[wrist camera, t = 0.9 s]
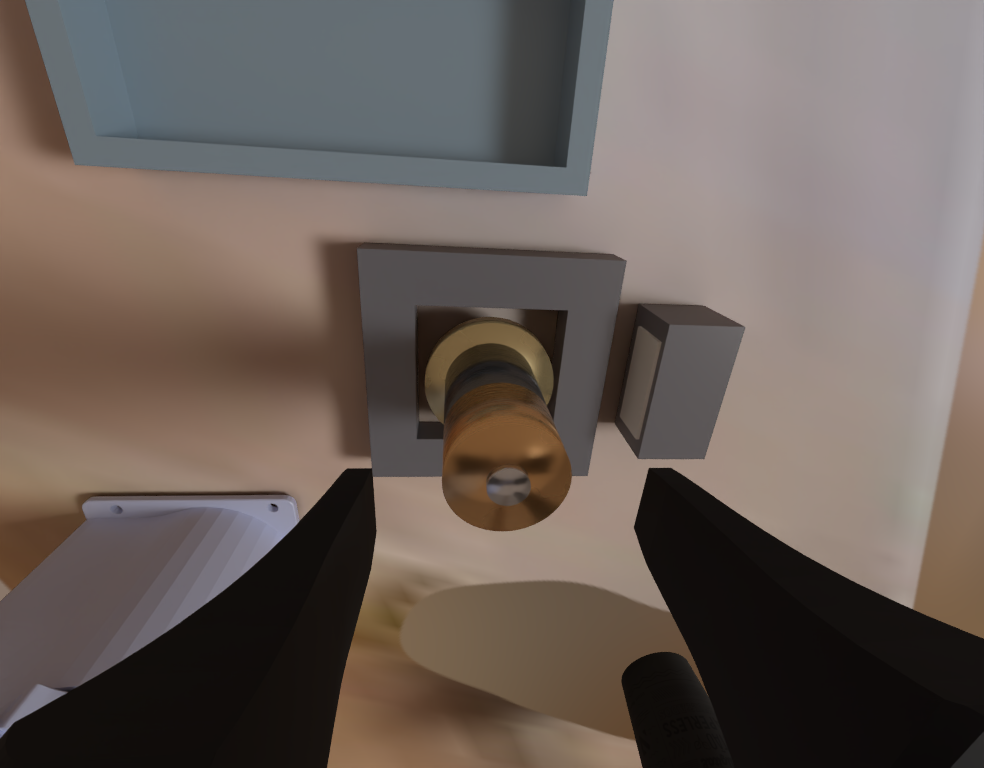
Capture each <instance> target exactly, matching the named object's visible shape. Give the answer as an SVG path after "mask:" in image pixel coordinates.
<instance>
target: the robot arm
mask: <svg viewBox="0 0 984 768" xmlns="http://www.w3.org/2000/svg"><path fill="white" fill-rule="evenodd" d="M271 504H276V505H277V506H278V507H275V506H272V505H271ZM118 506H120V507H121V508H120V507H118ZM82 510H83V512H84V514H85V517H86V519H87V520H86V521H85V522H84V523H83V524H82V525H80V526H79V527H78V528H77V529H76V530H75V531H74V532H73V533H72V534H71V535H70V536H69V537H68V538H67V539H66V540H65V541H64V542H63V543H61V544H60V545H59V546H58V547H57V548H56V549H55V550H54V551H53V552H52V553H51V554H50V555H49V556H48V557H47V558H46V559H45V560H44V561H42V562H41V563H40V564H39V565H38V566H37V567H36V568H35V569H34V570H33V571H32V572H31V573H30V574H29V575H28V576H27V577H26V578H24V579H23V580H22V581H21V582H20V583H19V584H18V585H17V586H16V587H15V588H14V589H13V590H12V591H11V592H10V593H9V594H8V595H7V596H5V597H4V598H3V599H2V600H1V601H0V768H327V764H328V758H329V752H330V746H331V739H332V733H333V728H334V722H335V716H336V711H337V705H338V699H339V694H340V688H341V682H342V678H343V674H344V669H345V665H346V660H347V657H348V653H349V649H350V646H351V642H352V638H353V635H354V631H355V627H356V623H357V620H358V616H359V612H360V609H361V605H362V601H363V598H364V594H365V590H366V586H367V582H368V579H369V575H370V571H371V565H372V559H373V552H374V545H375V538H376V517H375V503H374V488H373V473H372V468H364V469H346V470H345V471H344V472H343V473H342V474H341V475H340V476H339V478H338V479H337V480H336V481H335V482H334V484H333V485H332V486H331V487H330V488H329V489H328V491H327V492H326V493H325V494H324V495H323V496H322V497H321V499H320V500H319V501H318V502H317V503H316V504H315V505H314V506H313V507H312V509H311V510H310V511H309V512H308V513H307V514H306V515H305V516H304V517H303V518H302V519H301V520H300V521H299V515H298V509H297V503H296V501H295V499H294V498H293V497H291V496H289V495H210V496H95V497H90V498H89V499H87V500H86V501H85V502H84V503H83V505H82ZM634 529H635V532H636V535H637V538H638V541H639V544H640V547H641V550H642V553H643V556H644V558H645V561H646V564H647V566H648V568H649V570H650V572H651V574H652V576H653V578H654V580H655V582H656V584H657V586H658V588H659V590H660V592H661V594H662V596H663V598H664V600H665V602H666V604H667V606H668V608H669V610H670V612H671V614H672V616H673V618H674V620H675V622H676V624H677V626H678V628H679V630H680V632H681V634H682V636H683V638H684V640H685V642H686V644H687V646H688V648H689V650H690V652H691V654H692V656H693V659H694V661H695V663H696V665H697V668H698V670H699V673H700V675H701V678H702V681H703V683H704V686H705V688H706V691H707V693H708V696H709V698H710V701H711V704H712V706H713V709H714V711H715V714H716V717H717V720H718V722H719V725H720V728H721V731H722V733H723V736H724V739H725V742H726V744H727V747H728V750H729V753H730V755H731V758H732V761H733V764H734V767H735V768H984V639H983V638H980V637H978V636H975V635H973V634H970V633H968V632H965V631H962V630H960V629H958V628H956V627H953V626H951V625H948V624H946V623H943V622H941V621H938V620H936V619H934V618H931V617H929V616H926V615H924V614H922V613H920V612H917V611H915V610H913V609H911V608H908V607H906V606H904V605H901V604H899V603H897V602H895V601H893V600H891V599H889V598H887V597H884V596H882V595H880V594H878V593H876V592H874V591H872V590H870V589H868V588H866V587H863V586H861V585H859V584H857V583H855V582H853V581H851V580H849V579H847V578H845V577H844V576H842V575H840V574H838V573H836V572H834V571H832V570H830V569H829V568H827V567H825V566H823V565H821V564H819V563H818V562H816V561H814V560H812V559H810V558H809V557H807V556H805V555H803V554H802V553H800V552H798V551H796V550H795V549H793V548H791V547H790V546H788V545H786V544H785V543H783V542H782V541H780V540H778V539H777V538H775V537H774V536H772V535H770V534H769V533H767V532H766V531H764V530H762V529H761V528H759V527H758V526H756V525H755V524H753V523H752V522H750V521H749V520H747V519H746V518H744V517H743V516H741V515H740V514H738V513H737V512H735V511H734V510H732V509H731V508H729V507H728V506H727V505H725V504H724V503H722V502H721V501H719V500H718V499H716V498H715V497H714V496H712V495H711V494H709V493H708V492H706V491H705V490H704V489H702V488H701V487H699V486H698V485H696V484H695V483H693V482H692V481H691V480H689V479H688V478H686V477H685V476H683V475H682V474H680V473H678V472H677V471H675V470H673V469H672V468H649V470H648V474H647V478H646V482H645V485H644V489H643V493H642V497H641V501H640V505H639V509H638V513H637V517H636V521H635V525H634Z"/></svg>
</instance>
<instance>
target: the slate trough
mask: <svg viewBox="0 0 984 768" xmlns="http://www.w3.org/2000/svg"><path fill="white" fill-rule="evenodd" d="M613 1H614V0H25V2H26V5H27V9H28V12H29V15H30V19H31V22H32V25H33V28H34V32H35V35H36V38H37V42H38V45H39V48H40V51H41V55H42V58H43V61H44V65H45V68H46V71H47V74H48V78H49V81H50V84H51V88H52V91H53V94H54V97H55V101H56V104H57V107H58V111H59V114H60V117H61V120H62V124H63V127H64V130H65V133H66V137H67V140H68V143H69V147H70V150H71V153H72V156H73V160H74V163H75V165H86V166H103V167H119V168H136V169H152V170H168V171H185V172H201V173H218V174H234V175H250V176H267V177H283V178H300V179H316V180H332V181H349V182H365V183H382V184H398V185H414V186H431V187H447V188H464V189H480V190H496V191H513V192H529V193H546V194H562V195H579V196H587V191H588V184H589V177H590V169H591V162H592V155H593V147H594V140H595V133H596V125H597V118H598V111H599V103H600V96H601V89H602V81H603V74H604V67H605V59H606V52H607V45H608V37H609V30H610V23H611V16H612V8H613Z"/></svg>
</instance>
